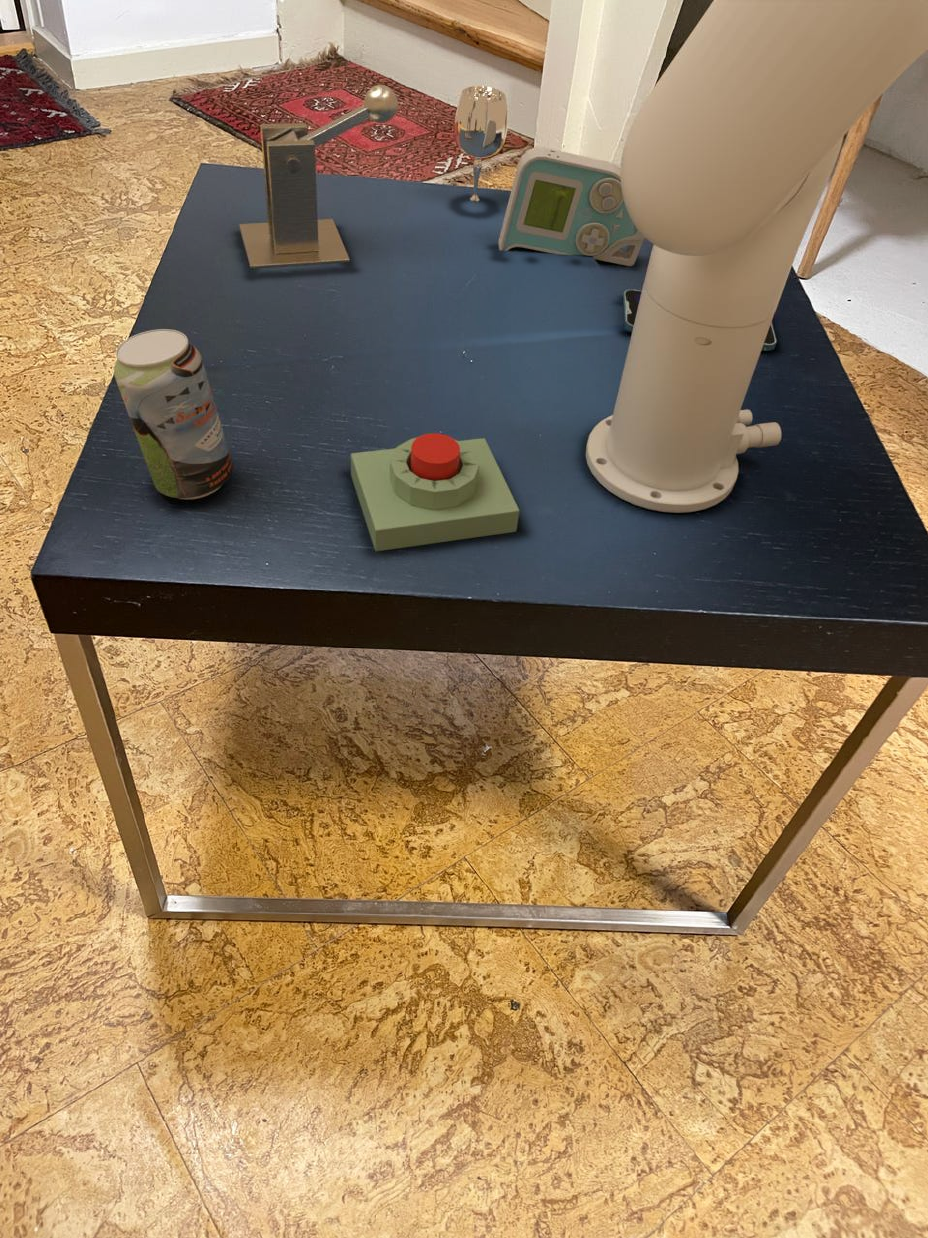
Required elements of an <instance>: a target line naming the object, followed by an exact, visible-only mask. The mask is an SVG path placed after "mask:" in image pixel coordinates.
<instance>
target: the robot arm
mask: <svg viewBox="0 0 928 1238" xmlns="http://www.w3.org/2000/svg"><path fill="white" fill-rule="evenodd" d="M927 51H928V0H713V1H712V2H711V3H710V5H709V7H708V8H707V9H706V11H705V12H704V14H703V15H702V17H701V18H700V20H699V21H698V23H697V24H696V26H695V27H694V28H693V30H692V32H690V34H689V36H688V37H687V38H686V40H685V42H683V44H682V46H681V47H680V49H679V51H677V53H676V55H675V56H674V57H673V59H672V60H671V61H670V64H669V65H668V66H667V68H666V69H665V71H664V72H663V73H662V75H661V77H660V78H659V80H658V81H657V82H656V83H655V85H654V87H653V88H652V90H651V91H650V93H649V94H648V96H647V98H646V99H645V100H644V102H643V104H642V105H641V106H640V109H639V110H638V112H637V114H636V116H635V117H634V119H633V121H632V124H631V126H630V128H629V131H628V133H627V135H626V138H625V142H624V146H623V151H622V155H621V162H620V168H621V188H622V195H623V199H624V203H625V206H626V209H627V211H628V214H629V216H630V218H631V220H632V221H633V223H634V225H635V226H636V228H637V229H638V230H639V232H640V233H641V234H642V235H643V236H644V237H645V239H646V240H647V241H648V242H650V243H651V244H653V245H652V249H651V252H650V256H649V260H648V264H647V268H646V273H645V277H644V281H643V285H642V288H641V291H642V293H641V297H640V301H639V305H638V310H637V314H636V318H635V323H634V327H633V331H632V332H631V337H630V340H629V344H628V349H627V353H626V356H625V360H624V361H625V362H624V366H623V370H622V374H621V379H620V383H619V388H618V391H617V395H616V400H615V404H614V408H613V413H612V415H609V416H607V417H606V418H603V419H602V420H601V421H599V422H598V423H597V424H596V425H595V426H594V427H593V429H592V430H591V431H590V433H589V435H588V438H587V441H586V447H585V448H586V449H585V460H586V464H587V466H588V468H589V470H590V472H591V474H592V475H593V477H594V478H595V479H596V481H597V482H598V483H599V484H600V485H601V486H603V487H604V488H605V489H606V490H607V491H608V492H610V493H612V494H613V495H615V496H616V497H618V498H619V499H621V500H622V501H623V500H624V501H625V502H628V503H629V504H632V505H634V506H637V507H639V508H644V509H647V510H651V511H657V512H662V513H673V514H675V513H676V514H680V513H694V512H698V511H702V510H707V509H709V508H712V507H714V506H716V505H718V504H720V503H721V502H723V501H724V500H726V498H727V497H728V496H729V495H730V494H731V492H733V488H734V487H735V484H736V482H737V479H738V475H739V471H740V469H739V461H738V459H737V455H740V454H743V453H746V452H747V450H748V449H749V448H757V449H758V448H767V447H773V446H778V445H779V444H780V442H781V440H782V430H781V429H782V428H781V426H780V424H779V423H778V422H775V421H774V422H773V421H772V422H765V423H757V424H754V425H752V423H753V418H754V417H753V413H752V411H751V410H750V409H748V408H747V409H742V407H743V403H744V401H745V398H746V395H747V392H748V390H749V386H750V384H751V381H752V378H753V375H754V372H755V370H756V367H757V364H758V361H759V358H760V356H761V352H762V351H763V350H762V347H763V344H764V341H765V339H766V336H767V333H768V330H769V327H770V324H771V321H772V322H773V318H774V315H775V313H776V311H777V309H778V306H779V302H780V300H781V297H782V294H783V291H784V289H785V286H786V283H787V280H788V278H789V275H790V272H791V269H792V267H793V264H794V261H795V260H796V256H797V253H798V251H799V249H800V246H801V244H802V241H803V239H804V236H805V234H806V231H807V229H808V227H809V225H810V222H811V220H812V219H813V216H814V214H815V211H816V209H817V207H818V204H819V202H820V200H821V197H822V195H823V193H824V191H825V188H826V186H827V184H828V182H829V179H830V177H831V175H832V173H833V170H834V168H835V165H836V162H837V160H838V157H839V154H840V151H841V148H842V145H843V142H844V141H843V140H844V136H845V135H846V134H847V133H848V132H849V130H850V129H851V128H852V127H853V126H855V124H856V123H857V122H858V121H859V120H860V119H861V118H862V116H863V115H864V114H865V113H866V112H868V110H869V109H870V108H871V107H872V106H873V104H875V102H876V101H877V100H879V98H880V97H881V96H882V95H883V94H884V93H885V92H886V90H888V89H889V87H890V86H892V84H893V83H894V82H895V81H896V80H897V79H898V78H899V77H900V76H901V75H902V73H904V72H905V71H906V70H907V69H908V68H909V67H910V66H911V65H912V64H913V63H914V62H915V61H916V60H918V59H919V58H920V57H921V56H922V55H924V54H925V53H926V52H927Z"/></svg>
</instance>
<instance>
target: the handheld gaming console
mask: <svg viewBox="0 0 928 1238" xmlns="http://www.w3.org/2000/svg"><path fill="white" fill-rule="evenodd" d="M511 186H512V187H511V191H510V194H509V199H508V203H507V205H506V206H507V207H506V211H505V214H504V218H503V222H502V226H501V229H500V234H499V237H498V250H499V251H500V252H501V251H504V252H508V251H509V250H510V249H513V248H524V249H529V250H534V251H539V252H543V253H548V254H552V255H553V254H554V255H563V256H564V255H565V256H587V257H588V256H589V257H592V258H593V260H597V261H603V262H607V263H612V264H617V265H622V266H626V267H632V266H634V265H635V264H636V261H637V258H638V256H639V253H640V250H641V248H642V245H643V242H644V240H645V239H646V238H645V237H644V236H643V235H642V234H641V233H640V232H639V230H638V229H637V228H636V226H635V225H634V223H633V221H632V220H631V218H630V216H629V214H628V211H627V209H626V206H625V203H624V199H623V195H622V188H621V167H618V166H617V165H615V164H614V163H612V162H610V161H606V160H603V159H597V158H594V157H588V156H586V155H585V156H584V155H580V154H575V153H572V152H566V151H562V150H558V149H553V148H550V147H545V146H534V147H532V148H529V149H527V150H526V151H525V152H524V153H523V154H522V155H521V157H520V159H519V161H518V163H517V167H516V171H515V175H514V178H513V183H512V185H511ZM627 246H628V248H627V249H626V250H621V249H622V248H625V247H627Z"/></svg>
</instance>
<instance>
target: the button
mask: <svg viewBox="0 0 928 1238" xmlns="http://www.w3.org/2000/svg"><path fill="white" fill-rule="evenodd" d="M417 437H418V438H417ZM417 437H415V438H416V439H415V440H414V441H413V443H412V446H411V469H412V471H413V473H414V474H415V475H416V476H418V477H419V478H422V479H427V480H432V481H439V480H447V479H451V478H452V477H454V476H455V475H456V473H457V472H458V467H459V456H460V447H459V445H458V443H457V442H456V441H455V440H456V439H454V438H453V437H451V436H449V435H447V434H443V433H437V432H436V433H435V432H432V433H431V432H430V433H425V434H422V435H420V436H417Z"/></svg>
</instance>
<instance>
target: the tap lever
mask: <svg viewBox="0 0 928 1238" xmlns="http://www.w3.org/2000/svg"><path fill="white" fill-rule="evenodd" d="M398 108H399V102H398V97H397V95H396V93H395V91H394V90H393V89H392V88H391V87H389V86H387V85H385V84H376V85H374V86H371V87H370V88H369V89H368V90H367V92H366V93H365V95H364V101H363V104H362V105H360V106H358V107H356V108H354V109H352V110H350V111H348V112H347V113H345V114H343V115H341V116H339V117H338V118H336V119H333V120H332V121H330V122H328V123H326V124H324V125H323V126H321V127H318V128H317V129H315V130H313V131H311V132H310V133H309V132H308V135H306V136H304V137H302V138H300V139H298V138H297V136H296V134H295V132H294V131H292V132H290V133H288V134H286V135H284V136H282V137H281V138H279V139H277V140H275V141H292V140H313V141H314V143H315V148H317V147H319V146H321V145H323V144H325V143H326V142H329V141H330V140H332V139H334V138H337V137H338V136H340V135H341V134H343V133H345V132H348V131H349V130H351V129H353V128H355V127H357V126H359V125H360V124H363V123H365V122H366V121H368V120H370V119H371V120H372V121H373V122H375V123H378V124H385V123H388V122H390V121H392V119H394V117H395V116H396V115H397V111H398Z"/></svg>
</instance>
